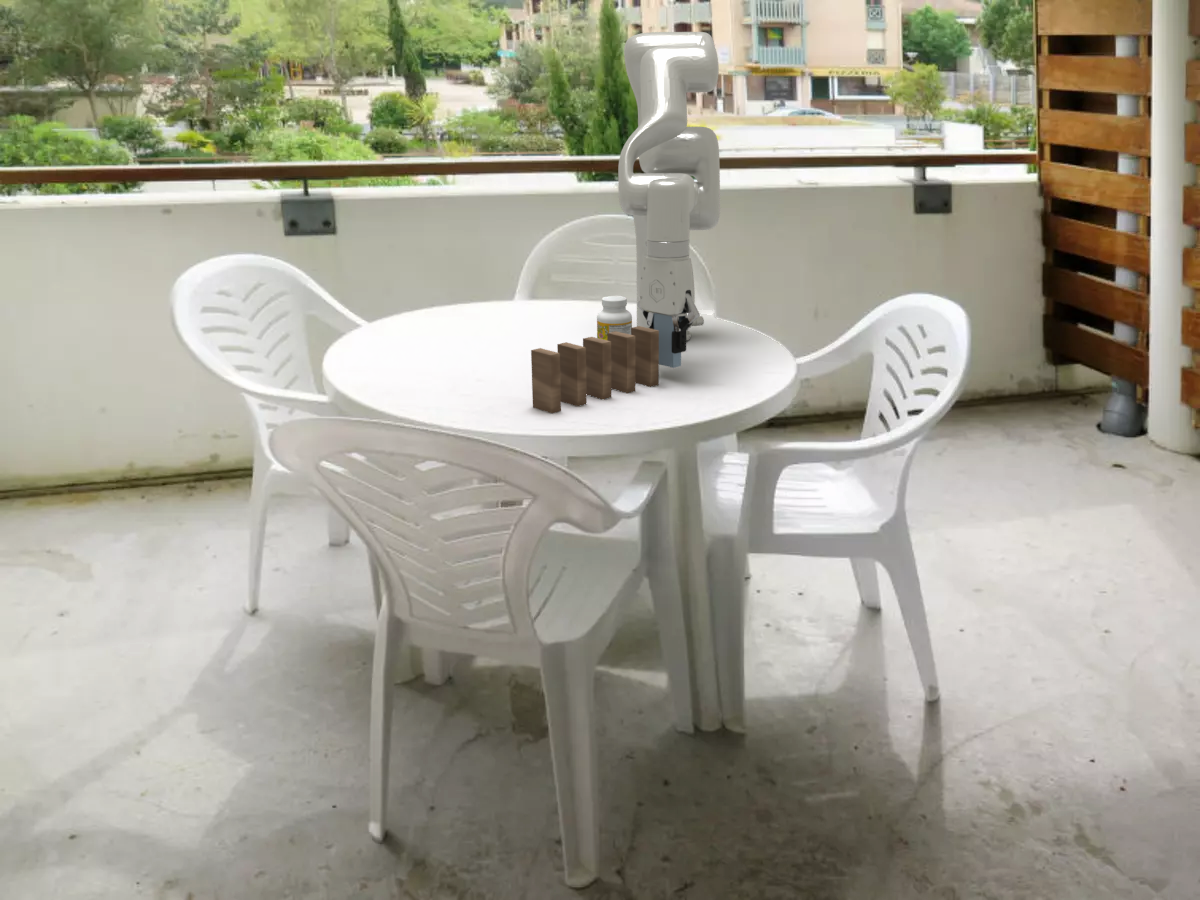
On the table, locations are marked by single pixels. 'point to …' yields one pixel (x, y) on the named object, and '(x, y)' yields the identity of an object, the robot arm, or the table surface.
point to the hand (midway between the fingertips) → (667, 348)
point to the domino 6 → (666, 341)
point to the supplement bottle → (613, 317)
